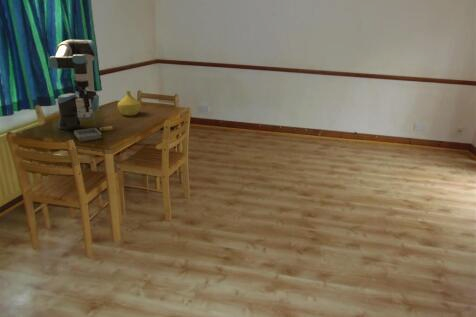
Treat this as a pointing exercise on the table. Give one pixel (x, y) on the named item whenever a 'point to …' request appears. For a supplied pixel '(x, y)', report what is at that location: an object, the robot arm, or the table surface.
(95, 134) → the tray
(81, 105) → the ink box
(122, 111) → the yellow rounded bulb
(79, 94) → the robot arm
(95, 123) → the table surface
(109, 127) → the puller tool
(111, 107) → the table surface
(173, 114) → the table surface
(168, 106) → the table surface
